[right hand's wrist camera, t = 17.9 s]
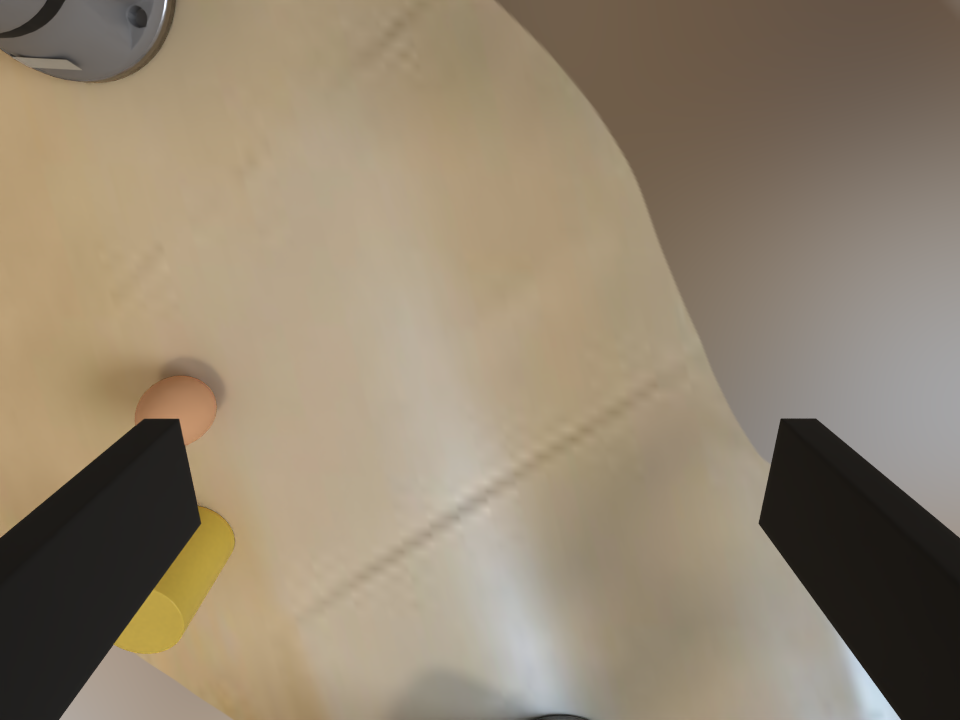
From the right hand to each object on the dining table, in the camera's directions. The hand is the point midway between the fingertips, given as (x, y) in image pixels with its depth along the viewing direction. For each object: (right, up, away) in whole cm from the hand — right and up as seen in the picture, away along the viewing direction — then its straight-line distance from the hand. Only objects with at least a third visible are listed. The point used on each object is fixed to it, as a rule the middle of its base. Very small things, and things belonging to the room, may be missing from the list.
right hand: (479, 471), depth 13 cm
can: (-30, -16, +47) cm, 58 cm away
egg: (-27, -1, +41) cm, 49 cm away
